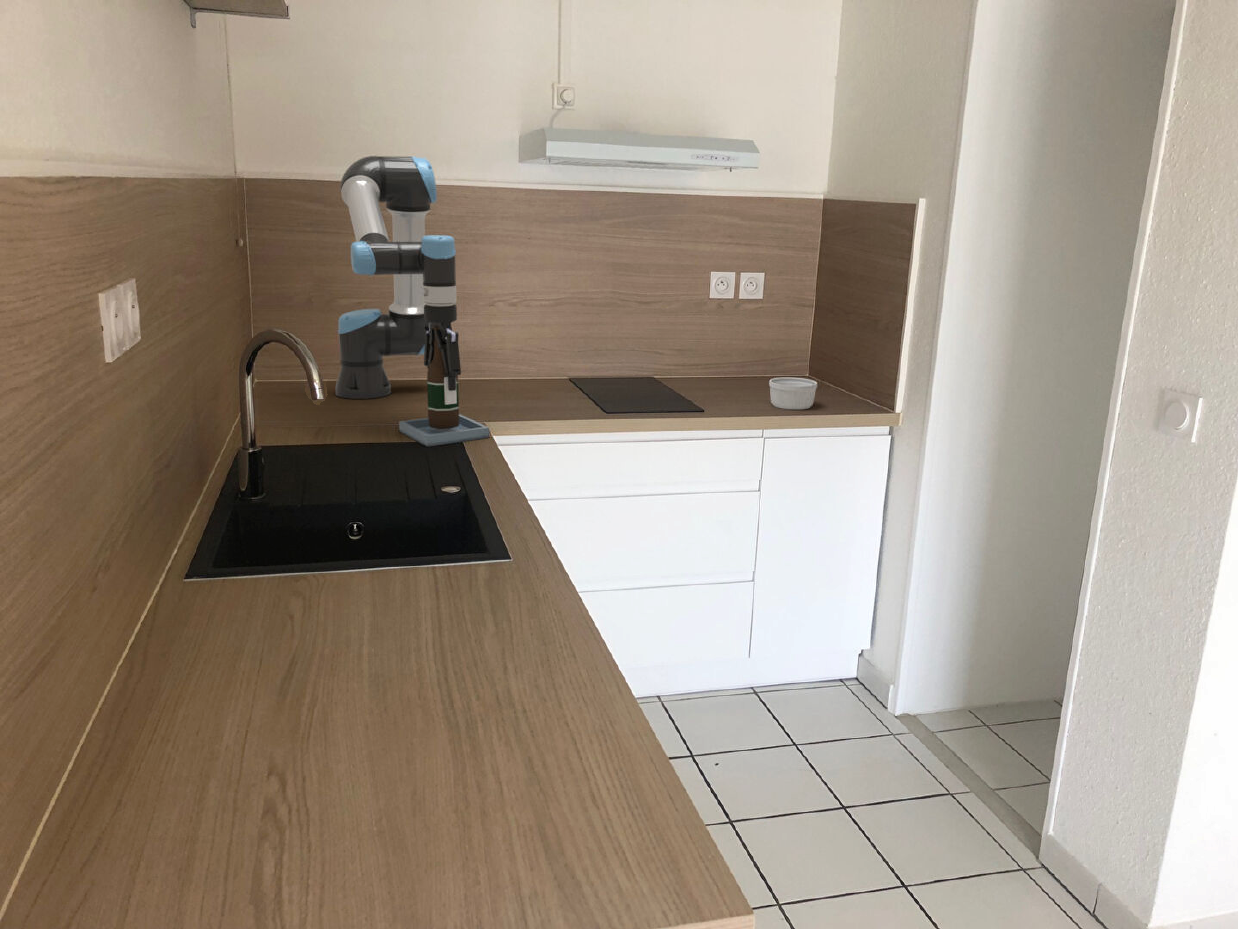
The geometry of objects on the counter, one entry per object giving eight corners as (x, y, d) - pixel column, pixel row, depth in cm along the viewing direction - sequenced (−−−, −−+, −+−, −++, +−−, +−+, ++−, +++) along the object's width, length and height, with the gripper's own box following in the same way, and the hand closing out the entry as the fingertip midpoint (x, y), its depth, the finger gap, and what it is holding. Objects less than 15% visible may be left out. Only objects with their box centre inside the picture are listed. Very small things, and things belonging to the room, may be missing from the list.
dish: (399, 431, 237) (399, 421, 236) (459, 423, 246) (459, 413, 245) (427, 446, 224) (426, 436, 224) (489, 437, 233) (489, 427, 232)
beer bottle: (453, 430, 230) (450, 328, 223) (422, 428, 231) (418, 326, 225) (464, 422, 237) (462, 324, 231) (434, 420, 239) (431, 322, 232)
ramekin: (769, 399, 281) (770, 375, 279) (815, 402, 279) (817, 378, 277) (766, 409, 269) (768, 384, 267) (815, 412, 266) (817, 387, 264)
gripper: (407, 299, 232) (410, 393, 239) (444, 310, 216) (447, 410, 222) (436, 298, 236) (439, 390, 243) (475, 308, 220) (477, 406, 227)
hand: (443, 400), depth 233 cm, fingers closed on beer bottle, 8 cm apart
